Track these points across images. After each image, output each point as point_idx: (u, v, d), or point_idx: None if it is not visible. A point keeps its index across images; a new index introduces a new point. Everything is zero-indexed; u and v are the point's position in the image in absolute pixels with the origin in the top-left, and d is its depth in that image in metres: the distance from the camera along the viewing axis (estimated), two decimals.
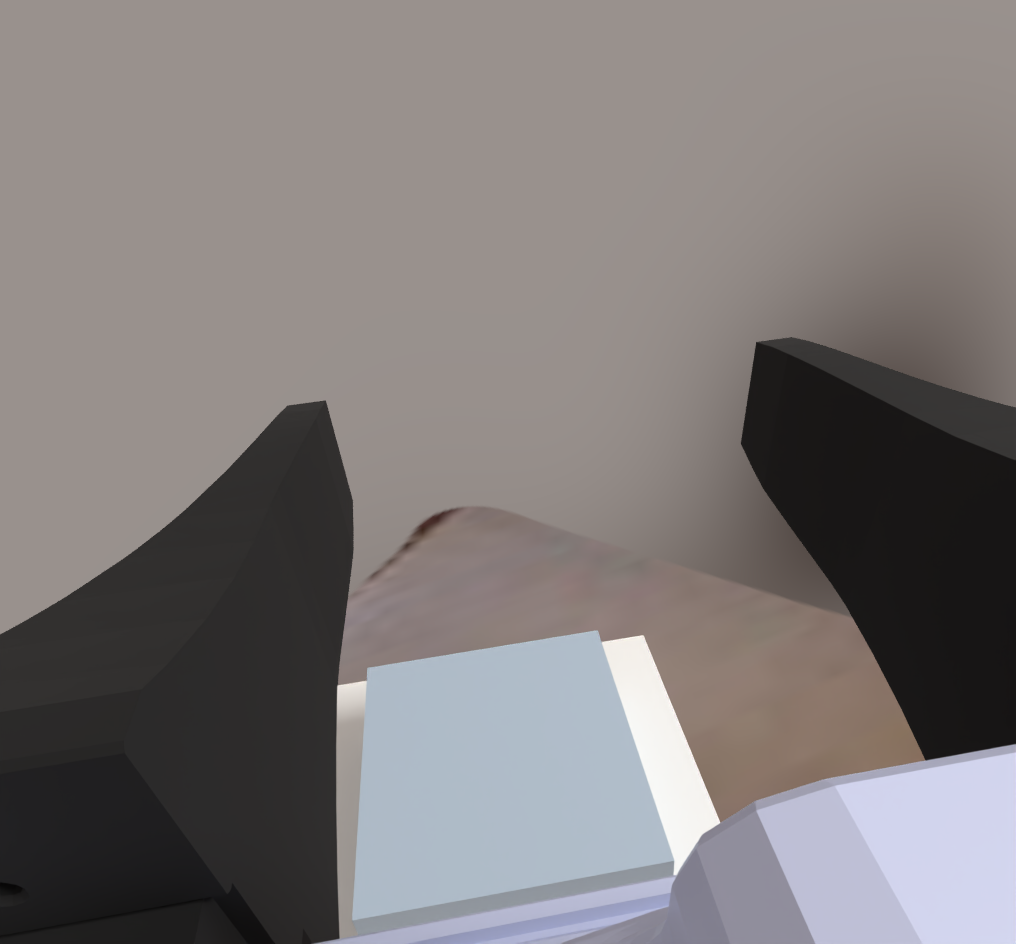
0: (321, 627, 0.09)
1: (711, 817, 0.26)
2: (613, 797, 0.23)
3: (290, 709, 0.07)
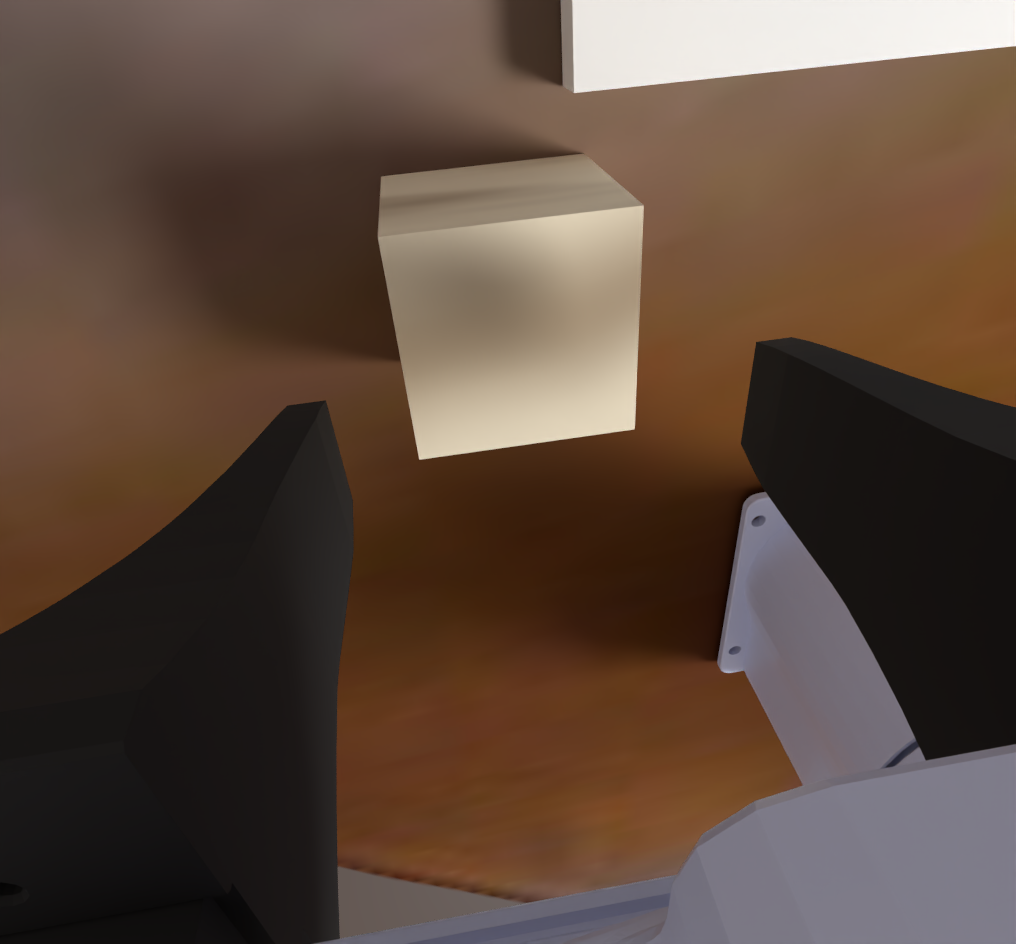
0: (321, 627, 0.09)
1: None
2: None
3: (290, 709, 0.07)
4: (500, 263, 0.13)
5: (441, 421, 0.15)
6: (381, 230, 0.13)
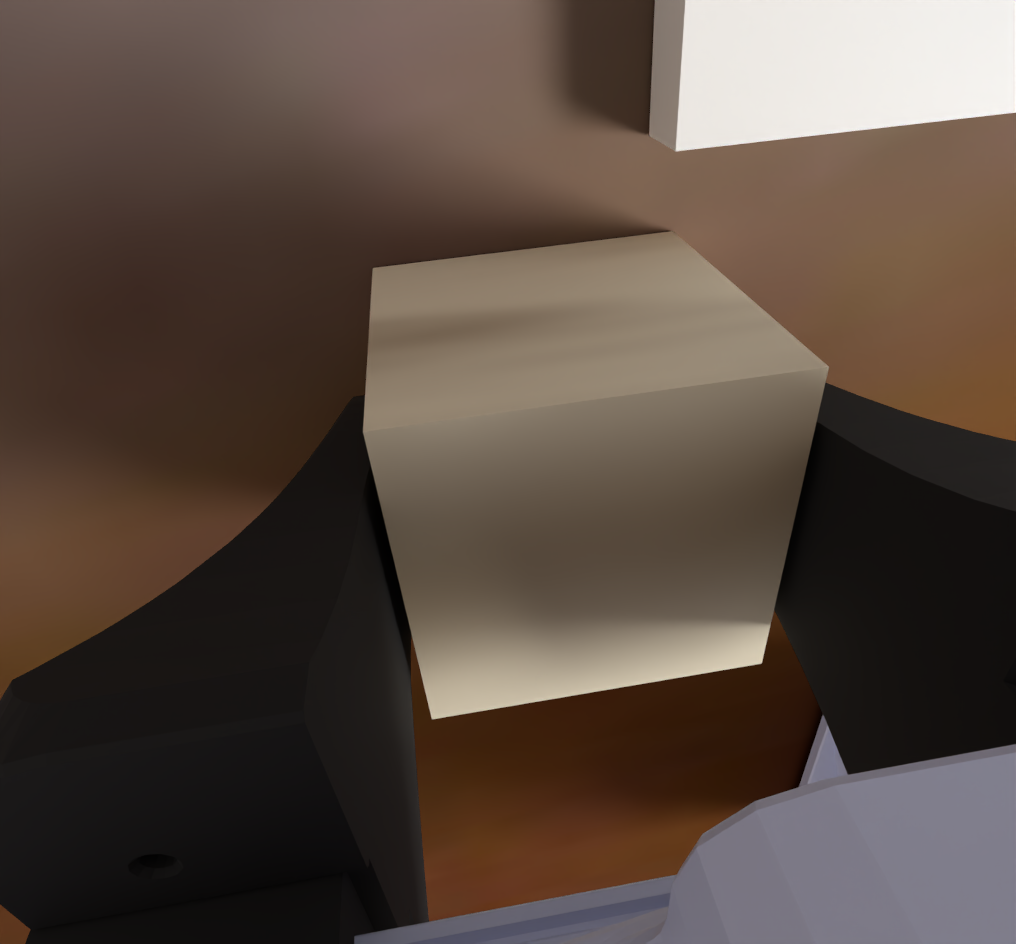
0: (398, 615, 0.09)
1: None
2: None
3: (387, 693, 0.07)
4: (577, 461, 0.08)
5: (467, 672, 0.09)
6: (370, 411, 0.07)
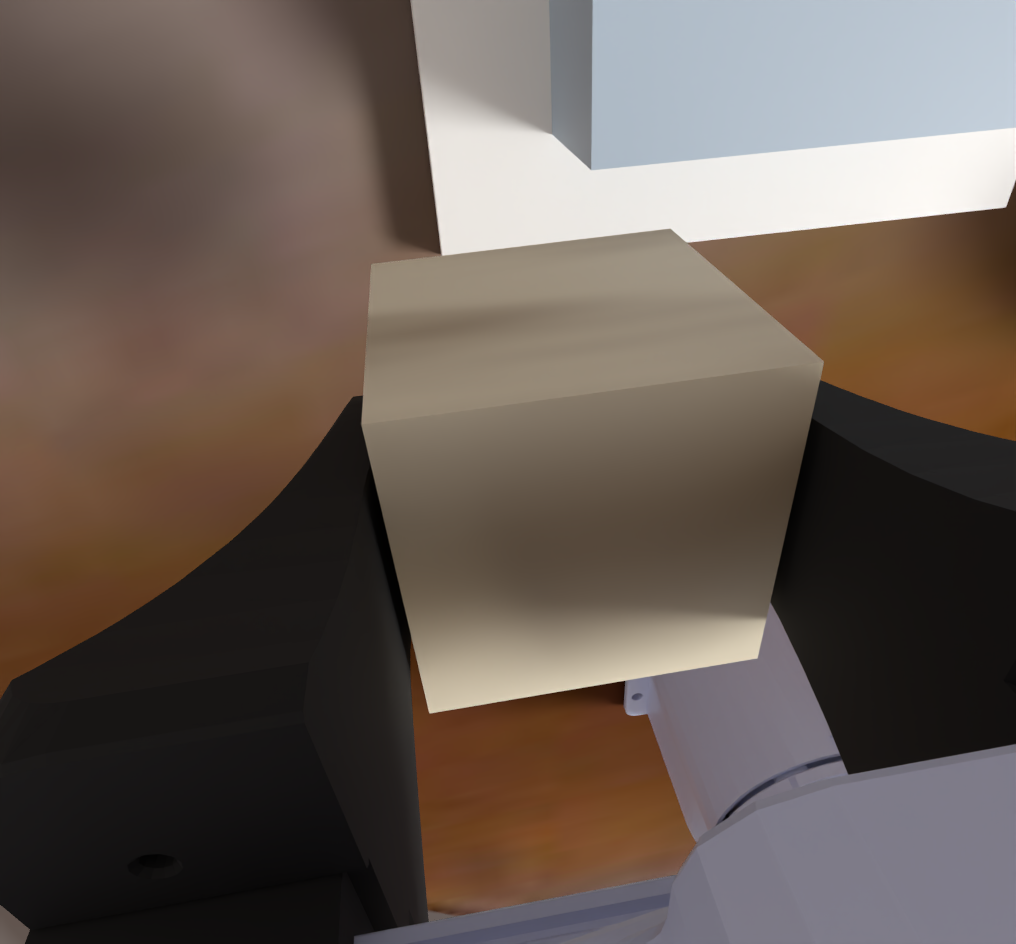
0: (398, 615, 0.09)
1: None
2: None
3: (387, 693, 0.07)
4: (573, 455, 0.08)
5: (464, 666, 0.09)
6: (368, 404, 0.07)
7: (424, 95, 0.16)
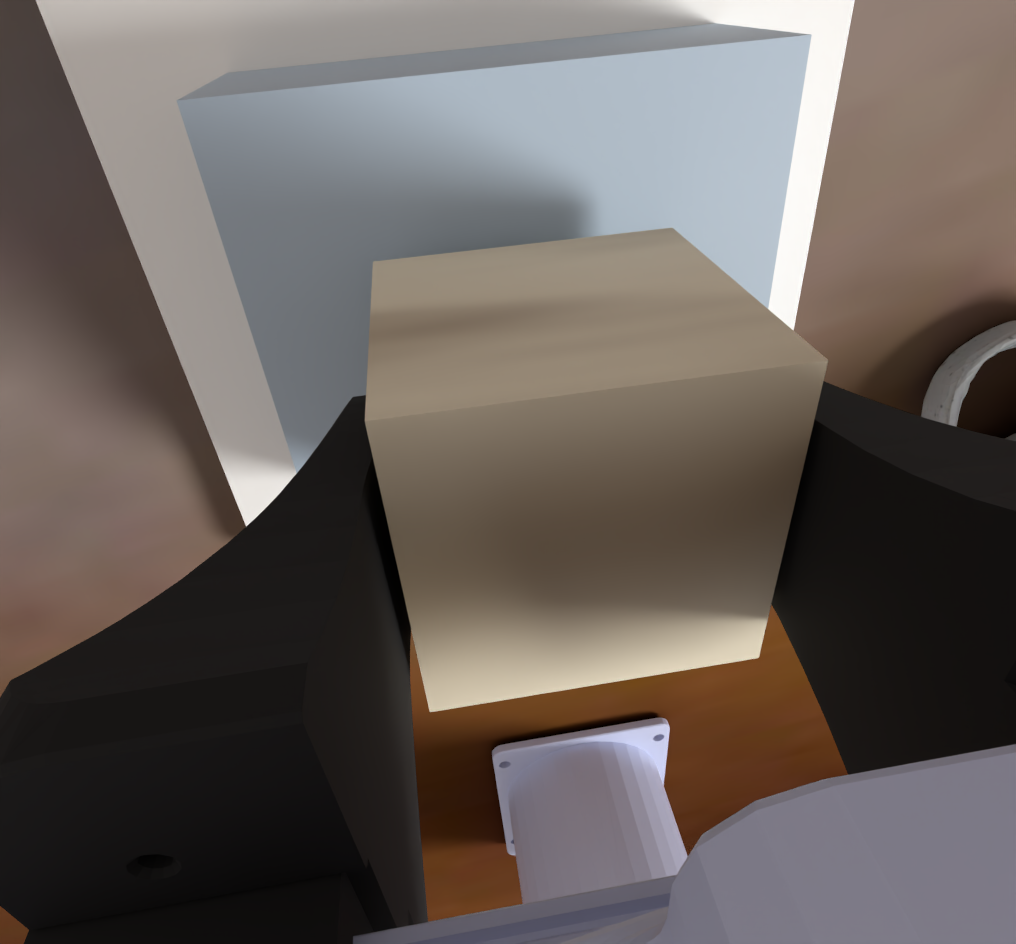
0: (397, 615, 0.09)
1: (788, 309, 0.18)
2: None
3: (386, 693, 0.07)
4: (577, 452, 0.08)
5: (466, 665, 0.09)
6: (372, 401, 0.07)
7: (221, 460, 0.19)
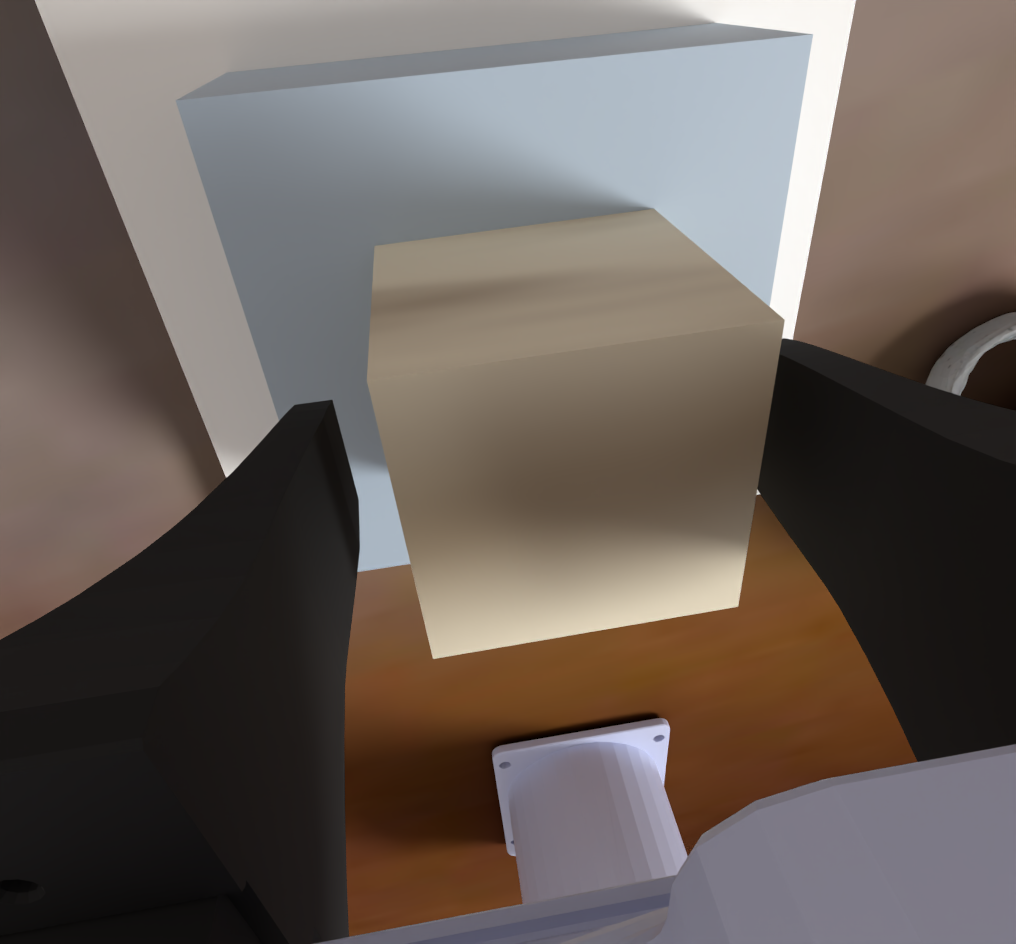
0: (329, 626, 0.09)
1: (789, 309, 0.18)
2: None
3: (300, 707, 0.07)
4: (559, 408, 0.08)
5: (465, 612, 0.10)
6: (373, 364, 0.08)
7: (221, 461, 0.19)
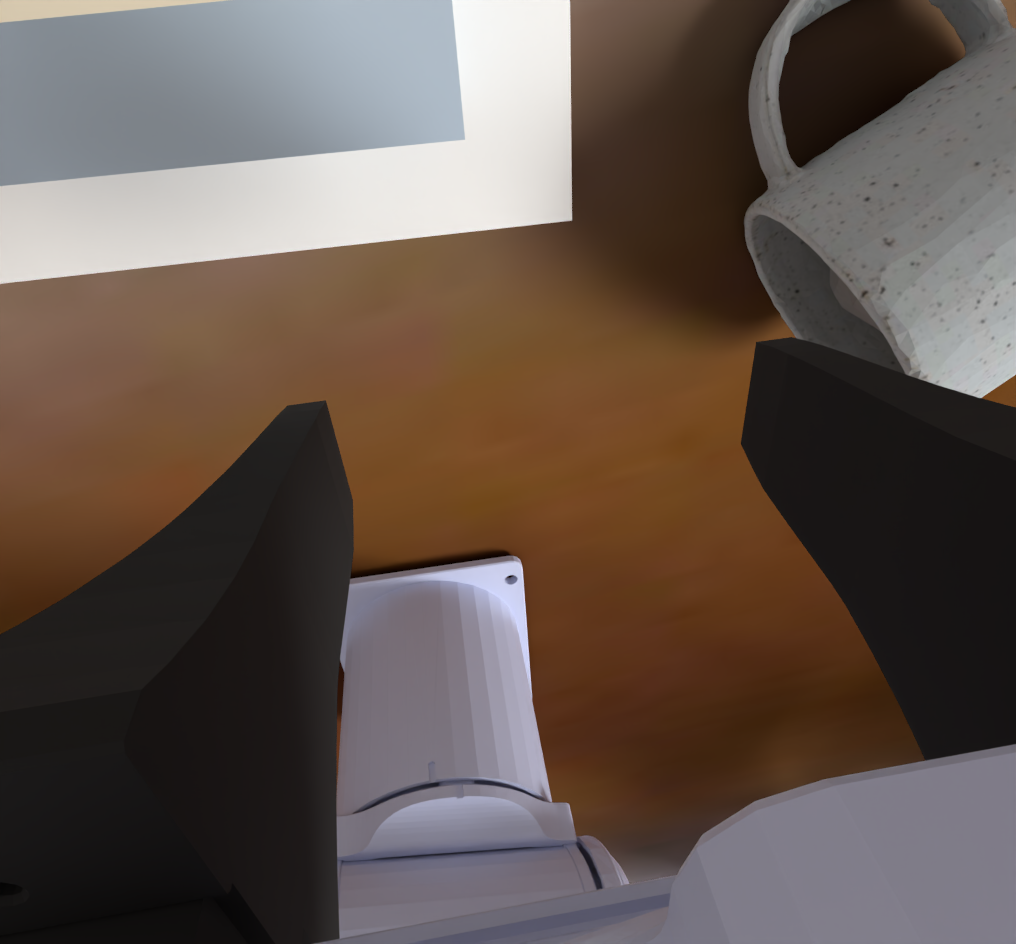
0: (321, 627, 0.09)
1: None
2: None
3: (290, 709, 0.07)
4: None
5: None
6: None
7: None
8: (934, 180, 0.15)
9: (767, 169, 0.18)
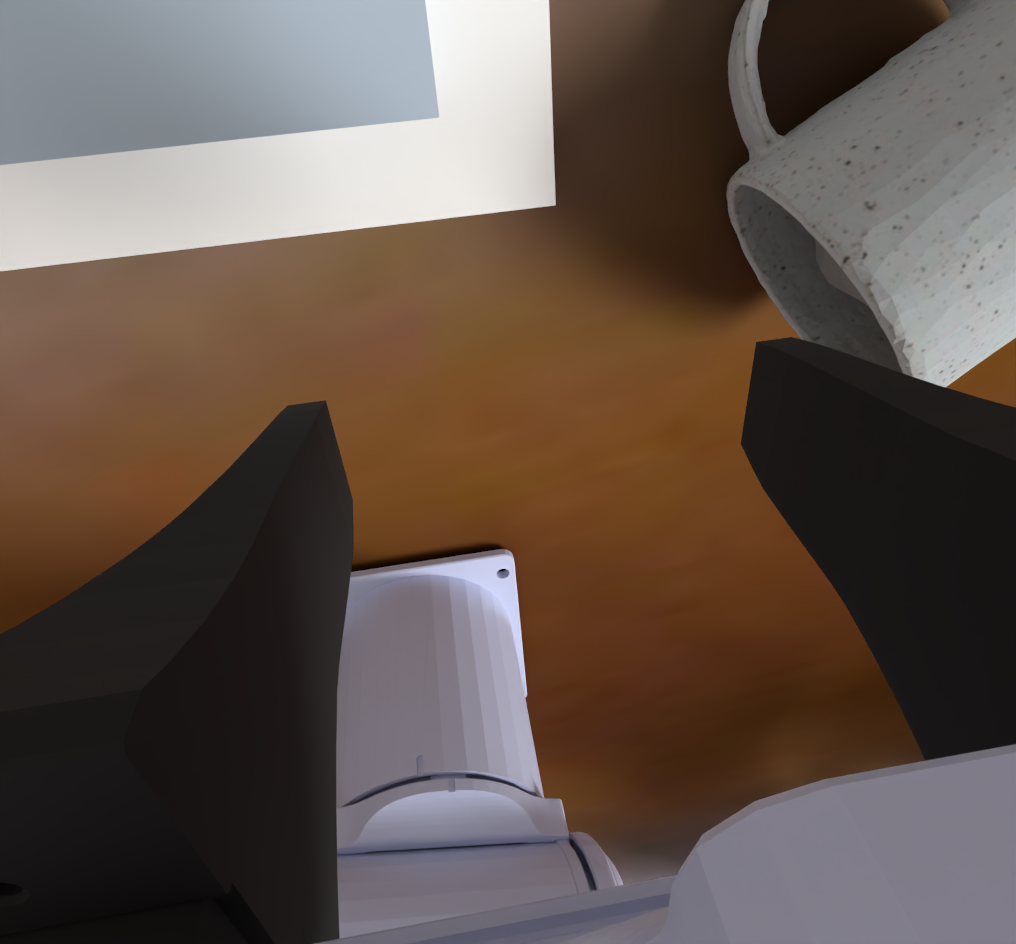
0: (321, 627, 0.09)
1: None
2: None
3: (290, 709, 0.07)
4: None
5: None
6: None
7: None
8: (916, 141, 0.14)
9: (748, 138, 0.17)
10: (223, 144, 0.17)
